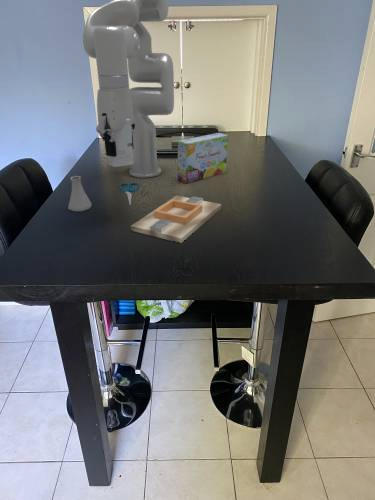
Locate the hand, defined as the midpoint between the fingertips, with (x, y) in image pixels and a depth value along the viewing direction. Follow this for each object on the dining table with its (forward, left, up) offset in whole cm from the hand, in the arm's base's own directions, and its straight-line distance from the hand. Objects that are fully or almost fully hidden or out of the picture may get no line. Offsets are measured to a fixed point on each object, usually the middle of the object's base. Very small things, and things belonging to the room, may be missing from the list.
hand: (120, 152), depth 105 cm
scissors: (-10, +16, -20) cm, 28 cm away
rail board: (+15, +6, -19) cm, 25 cm away
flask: (-17, -1, -20) cm, 26 cm away
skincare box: (0, 0, -4) cm, 4 cm away
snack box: (+4, +45, -20) cm, 49 cm away
